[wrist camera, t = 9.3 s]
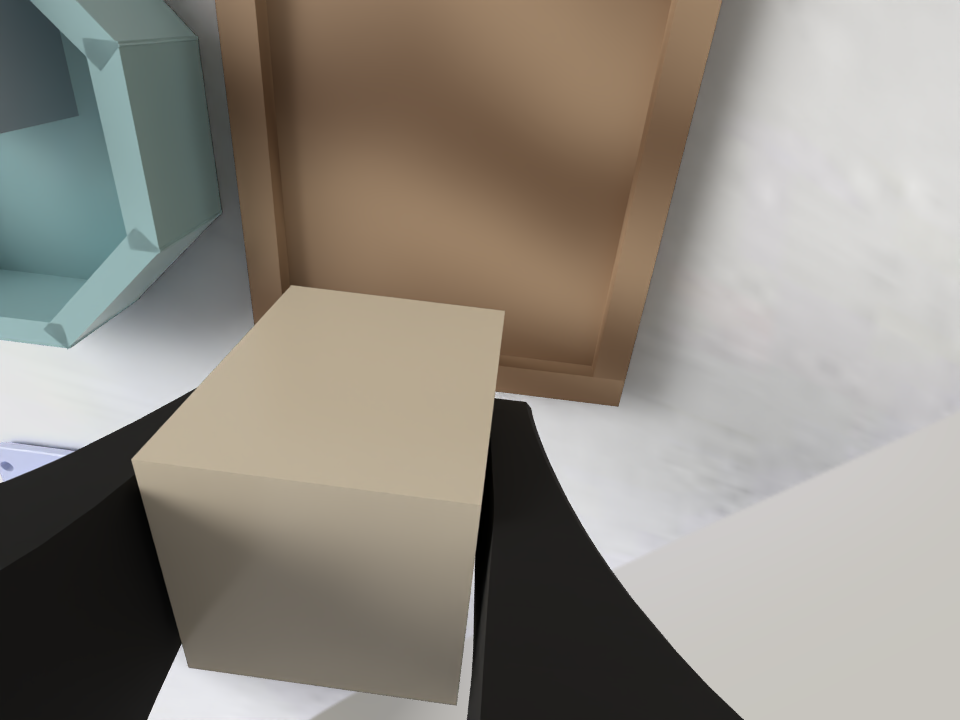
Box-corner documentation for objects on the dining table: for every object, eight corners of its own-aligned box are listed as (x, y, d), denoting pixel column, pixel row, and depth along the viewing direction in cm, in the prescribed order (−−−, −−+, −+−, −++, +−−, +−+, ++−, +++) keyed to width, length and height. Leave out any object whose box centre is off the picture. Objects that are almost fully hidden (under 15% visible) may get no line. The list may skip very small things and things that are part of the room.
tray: (614, 386, 20) (618, 406, 19) (272, 344, 21) (258, 362, 20) (757, -195, 13) (776, -213, 12) (210, -245, 13) (182, -266, 12)
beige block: (484, 475, 13) (456, 705, 9) (304, 452, 13) (188, 667, 9) (505, 311, 11) (481, 505, 7) (291, 285, 11) (131, 459, 7)
